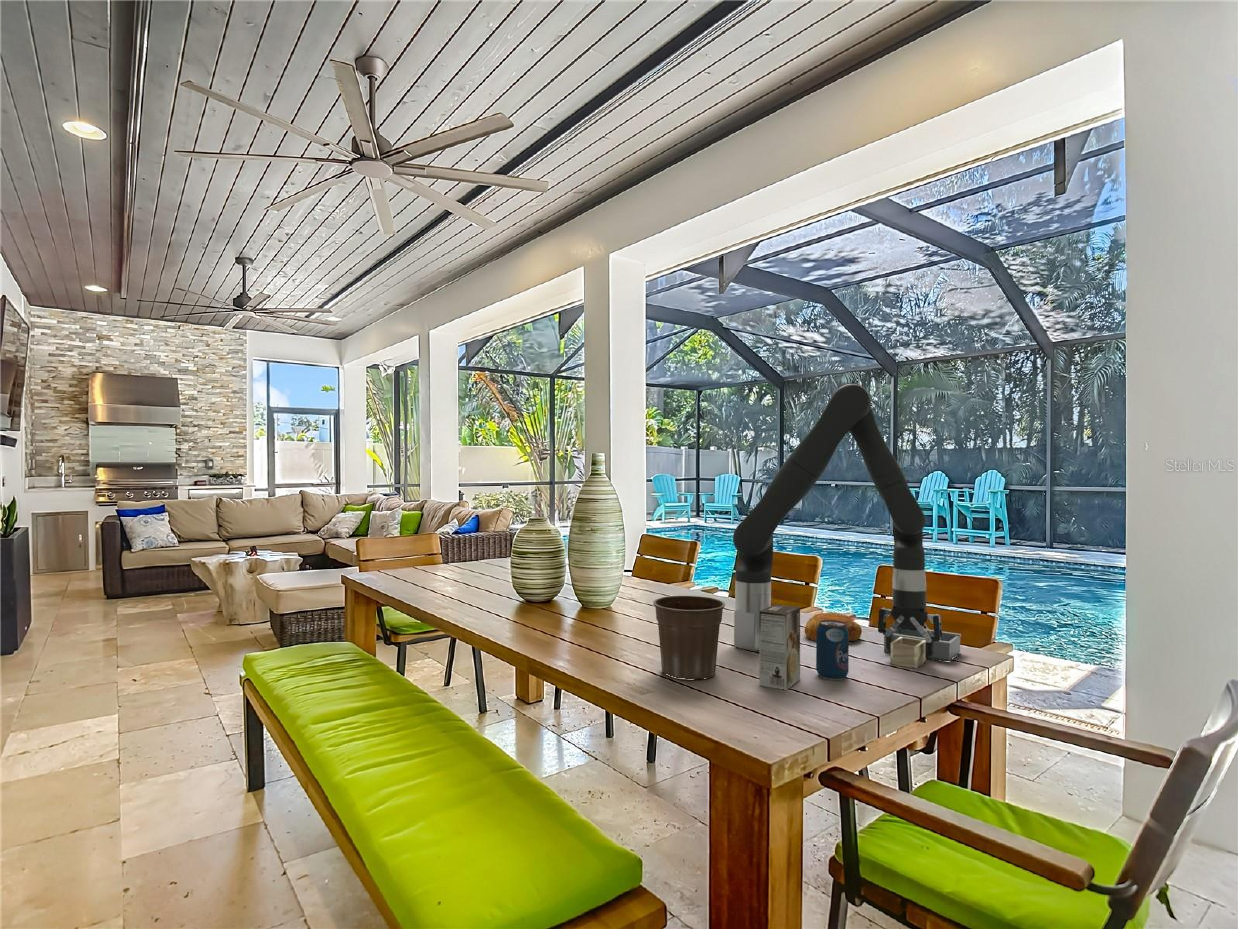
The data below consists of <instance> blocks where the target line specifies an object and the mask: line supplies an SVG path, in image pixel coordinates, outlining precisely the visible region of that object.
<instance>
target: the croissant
mask: <svg viewBox="0 0 1238 929" xmlns="http://www.w3.org/2000/svg"><path fill="white" fill-rule="evenodd" d="M823 620H835V621H841V622H844V623H846V627H847V629H848V632H849V642H851V641H852V642H854V641H858V640H859V639H861V636H862V633H863V629H862V627H861V625H860V624H859V623H857V622H856V621H854V619H853V618H851V617H850V616H849V615H846V614H842V613H839V612H822V613H816V614H814V615H813V616H812V617H810V618H809V619H808V620H807V622H806V625H805V626H804V634H805V636H806V637H807V638H809V639H810V640H812V641H814V640H815V642H816V630H817V627H818V626H819V622H820V621H823Z"/></svg>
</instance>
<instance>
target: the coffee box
mask: <svg viewBox="0 0 1238 929" xmlns="http://www.w3.org/2000/svg"><path fill="white" fill-rule="evenodd" d="M758 654H759V659H758V660H759V667H758V668H759V670H758V672H759V673H758V675H759V677H758V680H759V682H758V683H759V686H760V685H762V686H761V687H766V686H767V687H768V688H772V689H777V688H779V689H778V690H782V689H784V690H783V691H788V690H790V688H791V687H792V685H793V686H794V685H795V684H796V683H797V682H798V681H800V680H801V607H799V606H789V605H781V604H771V606H770V607H768V608H765V609H763V610H761V611H759V650H758Z"/></svg>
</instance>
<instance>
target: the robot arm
mask: <svg viewBox="0 0 1238 929" xmlns="http://www.w3.org/2000/svg"><path fill="white" fill-rule="evenodd" d="M871 406H872V401H871V396H870V395H869V393H868V391H867V390H866V389H865V388H864V387H863V386H861V385H859V384H856V383H849V384H848V383H847V384H844V385H842V386H840V387H839V388H837V389H836V390H835V391H834V393H833V394H832V397H831V398H830V400H829V401H828V403H827V405H826V407H825V409H824V410H823V412H822V414H821V415H820V417H819V418H818V420H817V421H816V423H815V425H814V426H813V427H812V428H811V430H810V431H808V433H807V434H806V435H805V437H803V439H802V440H801V441H800V442H799V443H798V444H797V446H796V447H795V448H794V450H793V451H792V452H791V453H790V455H789V456H788V457H787V459H786V460H785V461H784V462H783V464H782V465H781V467H780V468H779V469H778V472H777V473H776V474H775V476H774V478H773V479H772V481H771V482H770V484H769V485H768V487H767V489H766V490H765V493H764V494H763V496H762V497H761V499H760V500H759V501H758V503H757V504H756V505H755V506H754V508H753V509H752V510H751V511H750V512H749V513H748V514H747V515H746V517H745V518H743V519H742V521H741V522H740V523H739V524H738V525H737V526H736V528H735V529H734V531H733V536H732V539H733V540H732V542H733V546H734V548H735V550H736V551H737V552H738V553H737V554H738V556H737V558H738V559H737V564H736V565H737V566H736V568H735V572H734V573H735V579H734V580H735V582H734V583H735V584H734V585H735V589H734V590H735V591H734V600H735V602H734V604H735V605H734V612H733V616H734V617H733V618H734V620H733V647H734V648H736V647H738V648H737V649H741V648H742V649H743V650H747V651H752V652H757V651H759V611H761V610H763V609H765V608H768V607H770V606H772V604H771V603H772V571H773V565H774V564H773V563H774V562H773V561H774V535H773V534H774V532H775V531H776V529H777V528H778V526H779V525H780V523H781V522H782V520H784V518H785V517H786V516H787V515H788V513H790V512H791V510H793V509H794V508H795V507H796V506H797V504H799V503H800V502H801V501H802V500H803V499H804V498H805V497H806V495H807V494H808V493H809V492H810V491H811V489H813V488H814V486H815V484H816V483H817V481H819V479H820V477H821V476H822V475H823V473H824V471H825V470H826V468H827V467H828V465H829V463H830V461H831V460H832V458H833V455H834V453H835V451H836V449H837V448H838V446H839V444H840V443H841V441H842V440H843V439H844V437H845V436H846V435H847V434H848V433H850V435H851V436H852V438H853V440H854V442H855V443H856V445H857V448H858V450H859V452H860V454H861V456H862V459H863V462H864V465H865V466H866V469H867V472H868V473H869V474H868V475H870V478H871V481H872V482H873V484H874V486H875V488H876V490H877V492H878V494H879V496H880V498H881V499H882V500H883V502H884V503H885V506H886V508H887V511H888V513H889V515H890V517H891V519H892V532H893V533H892V534H893V543H894V544H893V545H894V548H893V558H892V559H893V563H892V564H893V565H892V567H893V570H892V583H891V584H892V586H891V587H892V608H891V609H889V608H887V607H882V608H880V609H878V621H877V632H878V633H879V634H882V635H883V634H884V635H885V636H886V648H887V649H888V651H889V652H891V642H893V641H894V636H893V633H894V632H895V631H896V630H897V629H898V628H899V627H900V628H902V629H909V630H913V631H916V630H918V631H919V632H920V634H921V635H923V637H924V638H925V639H926V641H927V642H926V643H925V650H926V658H930V657H931V656H932V655H933V654H934V642H935V641H939V640H941V639H942V631H943V627H942V626H943V625H942V616H941V615H942V614H939V613H936V614H930V613H928V611H927V586H928V585H927V578H926V557H925V556H926V554H925V549H924V545H923V544H924V543H923V542H924V541H923V539H924V537H923V533H924V532H923V531H924V528H925V526H926V516H925V514H924V512H923V509H922V508H921V506H920V504H919V502H918V501H917V499H916V498H915V495H914V494H913V493H912V491H911V489H910V486H909V484H908V482H907V479H906V478H905V475H904V473H903V471H902V469H901V467H900V465H899V463H898V462H897V459H896V457H895V456H894V455H893V453H892V451H891V449H890V448H889V446H888V444H887V443H886V441H885V439H884V438H883V436H882V434H881V432H880V429H879V427H878V425H877V422H876V420H875V419H876V418H875V415H874V412H873V409H872V407H871ZM890 615H891V617H892V619H893V620H894V622H893V623H892V624H891V625H890V627H889V628H887V618H889V617H890ZM928 620H929V622H930V624H932V625H933V630H934V636H933V635H932V634H931V632H930V631H929V630H930V628H929V627H928V626H927V624H926V622H927V621H928ZM884 635H883V636H884ZM889 652H888V653H889Z"/></svg>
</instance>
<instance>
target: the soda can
mask: <svg viewBox="0 0 1238 929" xmlns="http://www.w3.org/2000/svg"><path fill="white" fill-rule="evenodd" d="M815 642H816V644H815V650H816V651H815V653H816V654H815V655H816V656H815V662H816V663H815V669H816V672H817V673H818V674H817V675H818V676H819V677H820V678H822V679H824V680H825V679H826V680H829V679H830V681H842V680H844V679H846V677H847V676H848V674H849V670H850V669H849V664H850V662H849V656H850V655H849V651H850V650H849V648H850V646H849V642H850V641H849V632H848V629H847V627H846V623H844V622H841V621H835V620H823V621H820V622H819V626H818V627H817V630H816V641H815Z"/></svg>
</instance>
